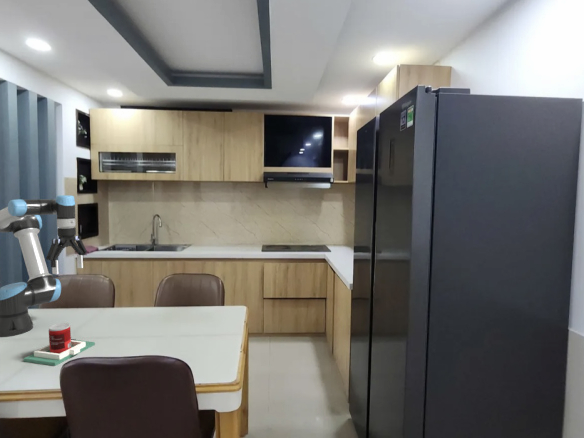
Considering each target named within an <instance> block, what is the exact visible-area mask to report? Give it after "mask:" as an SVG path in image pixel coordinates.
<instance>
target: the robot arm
mask: <svg viewBox="0 0 584 438" xmlns="http://www.w3.org/2000/svg"><path fill="white" fill-rule="evenodd" d="M75 201H76V199H75V196H74V195H66V194H65V195H61V194H60V195H59V194H58V195H56V196H55V198H45V199H44V198H42V199H41V198H40V199H39V198H37V199H36V198H35V199H34V198H33V199H21V198H18V199H11V200H9V201H8V204H7V206H6V207H4V208H2V209H0V233H3V234H4V233H13V236H14V237H15V238H17V239H18V241H19V246H20V249H21V252H22V256H23V259H24V263H25V267H26V271H27V274H28V277H29V279H28V280H27V282H25V281H19V282H12V283H9V284H6V285H3V286H1V287H0V337H3V338H4V337H10V336H11V337H12V336H17V335H21V334H24V333H27V332H30V331H31V330H33V329H34V322H33V320H32V318H31V316H30V314H29V308H31V307H34V306H39V305H42V304H47V303H48V304H49V303H51V302H54V301H57V300H58V299H60V296H61V293H62V283H61V281H60V279H59V278H54V275H59V260H57V259H58V258H59V256H60V255H61V253H62V251H63V250H64V249H65V248H68V247H71V248H72V249H73V250H74V251H75V253H77V255H76V263H77V264H76V265H77V266H76V267H77V269H83V268H84V263H83V262H84V256H85V255H86V254H87V253H88V251H87V248H86V247H85V244H84V243H83V241H82V236H81V235H77V229H76V225H77V224H76V223H77V222H76V202H75ZM45 215H46V216H47V215H48V216H51V215H56V227H57V230H56V232H57V234H56V235H57V237H58V238H52V239H51V245H50V248H49V250H48V253H47V255H46V258H45V256H44V253H43V248H42V245H41V242H40V239H39V236H38V234H39V233H40V230H41V229H42V228H43V220H42V217H41V216H45ZM46 260H48V261H50V268H52V269H51V270H52V274H51V273H49V269H48V267H47V266H48V265H47V263H46Z"/></svg>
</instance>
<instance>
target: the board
mask: <svg viewBox="0 0 584 438" xmlns="http://www.w3.org/2000/svg"><path fill="white" fill-rule="evenodd" d="M93 346H96V344H95V341H89V340H86V341H85V340H80V339H76V338H75V339H74V338H71V348H70V349H68V350H66V351H64V352H62V353H60V354H58V353H50V345H49V344H48V345H46V346H43V347H42V348H39V349H37V350H35V351H33V353H32V354H30V355H28V356H26V357H24V358H23V362H25V363H32V364H38V365H39V364H40V365H46V366H47V365H48V366H53V367H55V366H58V365H60V364H61V363H63V362H65V361H68V360H70V359H71V358H72V357H74V356H76V355H79V354H80V353H83V352H84V351H86V350H88V349H89V348H91V347H93Z"/></svg>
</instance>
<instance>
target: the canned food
mask: <svg viewBox="0 0 584 438" xmlns="http://www.w3.org/2000/svg"><path fill="white" fill-rule="evenodd" d="M71 331H72V330H71V324H70V323H68V322H59V323H55V324H52V325H50V326H49V327H48V339H49V340H48V341H49V344H48V345H50V353H58V354H60V353H62V352H64V351H66V350H68V349H70V348H71V339H72V336H71Z"/></svg>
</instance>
